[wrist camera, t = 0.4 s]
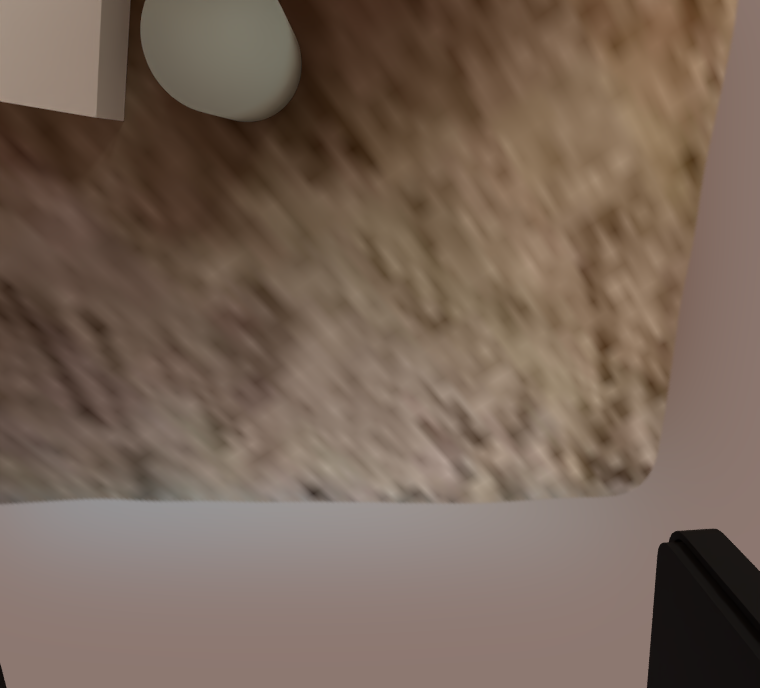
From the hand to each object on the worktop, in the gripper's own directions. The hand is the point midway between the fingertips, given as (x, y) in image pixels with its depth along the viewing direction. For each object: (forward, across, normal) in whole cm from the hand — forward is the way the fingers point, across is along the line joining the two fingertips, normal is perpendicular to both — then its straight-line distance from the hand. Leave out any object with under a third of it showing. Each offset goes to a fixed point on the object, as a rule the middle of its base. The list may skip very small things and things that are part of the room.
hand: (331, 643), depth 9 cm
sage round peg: (+30, +5, -11) cm, 33 cm away
